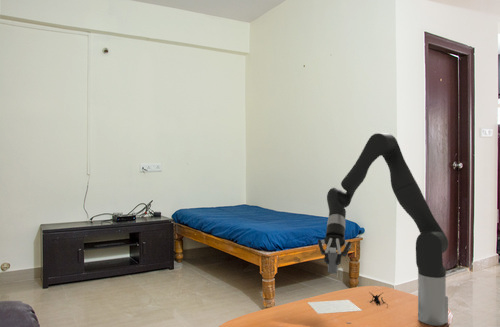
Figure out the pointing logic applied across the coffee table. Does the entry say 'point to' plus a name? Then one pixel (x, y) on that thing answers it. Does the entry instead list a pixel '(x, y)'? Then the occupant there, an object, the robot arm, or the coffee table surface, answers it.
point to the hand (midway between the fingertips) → (332, 263)
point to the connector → (332, 261)
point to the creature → (377, 299)
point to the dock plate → (333, 306)
